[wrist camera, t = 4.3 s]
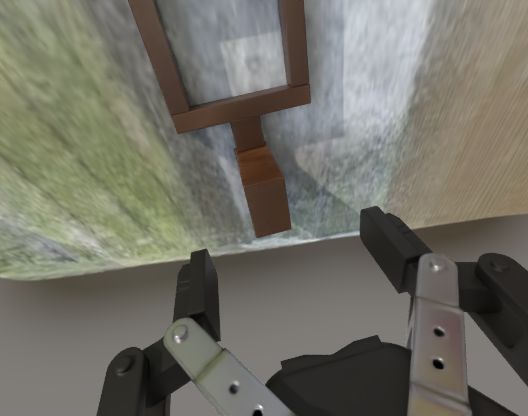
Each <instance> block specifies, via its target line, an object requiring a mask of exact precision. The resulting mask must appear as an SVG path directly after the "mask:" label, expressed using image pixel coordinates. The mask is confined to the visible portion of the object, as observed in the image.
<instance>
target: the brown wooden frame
mask: <svg viewBox="0 0 528 416" xmlns="http://www.w3.org/2000/svg"><path fill="white" fill-rule="evenodd" d="M128 2H129V5H130V7H131V10H132V13H133V15H134V18H135V21H136V23H137V26H138V29H139V31H140V34H141V37H142V39H143V42H144V45H145V48H146V50H147V53H148V56H149V58H150V61H151V64H152V66H153V69H154V72H155V74H156V77H157V80H158V83H159V85H160V88H161V91H162V93H163V96H164V99H165V101H166V104H167V107H168V109H169V112H170V115H171V118H172V120H173V123H174V126H175V128H176V131H177V133H178V134H180V133H184V132H189V131H193V130H197V129H202V128H206V127H210V126H214V125H219V124H223V123H227V122H230V123H231V127H232V131H233V135H234V139H235V143H236V147H237V148H235V149H234V151H235V155H236V159H237V163H238V167H239V171H240V175H241V179H242V183H243V188H244V192H245V195H246V199H247V203H248V207H249V211H250V215H251V219H252V223H253V227H254V231H255V235H256V238H259V237H263V236H267V235H271V234H275V233H279V232H283V231H287V230H290V229H292V227H291V220H290V214H289V207H288V200H287V193H286V186H285V180H284V176H283V174H282V172H281V170H280V168H279V167H278V165H277V163H276V161H275V159H274V157H273V155H272V153H271V151H270V149H269V147H268V145H267V143H266V142H265V141H264V137H263V132H262V126H261V121H260V115H262V114H266V113H270V112H274V111H279V110H283V109H287V108H292V107H296V106H300V105H304V104H309V103H311V97H310V84H309V71H308V56H307V41H306V27H305V12H304V0H278V7H279V15H280V24H281V33H282V42H283V51H284V60H285V68H286V77H287V84H288V85H284V86H280V87H275V88H271V89H266V90H262V91H258V92H253V93H249V94H245V95H240V96H236V97H232V98H227V99H223V100H218V101H214V102H210V103H205V104H201V105H197V106H192V107H190V104H189V101H188V98H187V95H186V92H185V89H184V86H183V82H182V79H181V76H180V73H179V70H178V67H177V64H176V61H175V58H174V55H173V52H172V48H171V45H170V42H169V39H168V36H167V33H166V30H165V27H164V24H163V21H162V18H161V15H160V11H159V8H158V5H157V2H156V0H128Z"/></svg>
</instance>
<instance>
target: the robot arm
mask: <svg viewBox="0 0 528 416" xmlns="http://www.w3.org/2000/svg"><path fill="white" fill-rule="evenodd" d="M360 237H361V240H362V242H363V244H364V245H365V247H366V248H367V249H368V251H369V252H370V254H371V255H372V256H373V258H374V259H375V261H376V262H377V264H378V265H379V266H380V268H381V269H382V270H383V272H384V273H385V275H386V276H387V278H388V279H389V281H390V282H391V283H392V285H393V286H394V287H395V289H396V290H397V292H398V293H399V294H400V293H403V292H408V293H409V294H410V296H411V297H410V305H409V313H408V322H407V331H406V338H405V344H404V347H402V346H400V345H396V344H392V343H386V342H381V341H380V339H379V337H378V335H375V336H372V337H368V338H364V339H361V340H357V341H354V342H352V343H351V344H349V345H347V346H346V347H344V348H342V349H341V350H339V351H338V352H336V353H334V354H332V355H302V356H299V357H295V358H292V359H288V360H284V361H281V365H282V369H281V370H279V371H278V372H277V373H276V374H274V375H273V376H272V377H271V378H270V379H269V380H268V381H267V383H266V384H265V385H264V384H263V383H262V382H261V381H260V380H259V379H258V378H257V377H256V376H255V375H253V374H252V373H251V372H250V371H249V370H248V369H247V368H246V367H245V366H244V365H243V364H242V363H241V362H240V361H239V360H238V359H237V358H236V357H235V356H234V355H233V354H232V353H231V352H229V350H227V349H226V348H224V349H223V348H222V347H221V346H220V345H219V344H218V343H217V342H218V341H221V340H220V316H219V294H218V278H217V273H216V269H215V267H214V265H213V263H212V260H211V257H210V255H209V253H208V250H207V249H203V250H199V251H195V252H192V253H191V260H190V264H186V265H183V266H182V268H181V270H180V272H179V274H178V280H177V289H176V292H177V293H176V298H175V307H174V317H173V323H172V324H171V325H170V326H169V327H168V329H167V330H166V332H165V334H164V337H163V338H161V339H160V340H159V341H157V342H156V343H154V344H152V345H150V346H149V347H147V348H145V349H144V350H141V349H139V348H137V347H130V348H127V349H125V350H123V351H121V352H120V353H119V354H117V355H116V356H115V358H114V359H113V360H112V361H111V363H110V364H109V366H108V369H107V372H106V377H105V381H104V385H103V390H102V394H101V399H100V403H99V407H98V412H97V416H170V398H171V393H173V392H174V391H176V390H177V389H179V388H180V387H182V386H183V385H185V384H186V383H188V382H189V381H191V380H192V382H193V383H194V384H195V385H196V386H197V388H198V389H199V390H200V391H201V393H202V394H203V395H204V396H205V397H206V399H207V400H208V401H209V403H210V404H211V405H212V406H213V407H214V409H215V410H216V411H217V413H218V414H219V415H220V416H518V415H517V414H515V413H513V412H511V411H510V410H508V409H507V408H505V407H504V406H502V405H500V404H499V403H497V402H495V401H494V400H492V399H490V398H488V397H487V396H485V395H484V394H482V393H481V392H479V391H477V390H476V389H474V388H472V387H470V386H469V385H468V384H467V364H466V344H465V325H464V312H467V313H468V314H469V315H470V316H471V318H472V319H473V320H474V321H475V322H476V323H477V325H478V326H479V327H480V329H481V330H482V331H483V332H484V334H485V335H486V336H487V337H488V338H489V340H490V341H491V342H492V343H493V345H494V346H495V347H496V348H497V349H498V351H499V352H500V353H501V354H502V356H503V357H504V358H505V359H506V361H507V362H508V363H509V364H510V365H511V367H512V368H513V369H514V370H515V372H516V373H517V374H518V375H519V376H520V378H521V379H522V380H523V381H524V383H525V384H526V385H527V386H528V271H527V270H526V269H525V268H523V267H522V266H521V265H520V264H518V263H517V262H516V261H515V260H513V259H511V258H510V257H507V256H505V255H502V254H497V253H486V254H483V255H482V256H480V257H479V259H478V262H454V261H453V260H452V259H450V258H449V257H447V256H445V255H442V254H438V253H433V252H432V251H431V250H430V249H429V248H428V247H427V246H426V245H425V244H424V243H423V242H422V241H421V240H420V239H419V238H418V237H417V236H416V235H415V234H414V233H413V232H412V231H411V229H410V228H409V227H408V226H406V224H405V223H404V222H403V221H402V220H401V219H400V218H398V217H396V216H394V215H392V214H391V213H387V214H384V212H383V211H382V210H381V209H380V208H379V207H378V206H373V207H370V208H366V209H362V210H361V212H360Z"/></svg>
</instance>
